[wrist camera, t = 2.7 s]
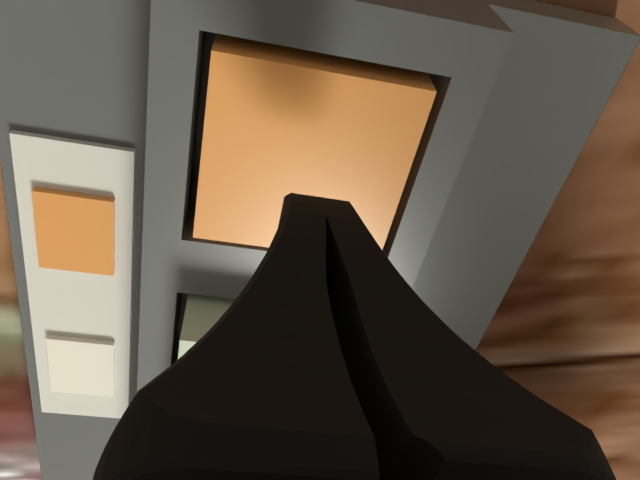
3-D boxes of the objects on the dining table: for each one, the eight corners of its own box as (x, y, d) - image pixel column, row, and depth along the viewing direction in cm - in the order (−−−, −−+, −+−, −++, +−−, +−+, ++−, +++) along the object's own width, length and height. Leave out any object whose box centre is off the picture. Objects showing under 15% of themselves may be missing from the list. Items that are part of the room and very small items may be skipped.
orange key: (369, 219, 18) (378, 262, 16) (201, 195, 17) (192, 237, 15) (420, 58, 15) (436, 91, 13) (219, 20, 14) (211, 50, 13)
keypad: (388, 477, 30) (399, 551, 27) (52, 453, 27) (26, 532, 24) (615, 17, 16) (686, 67, 14) (-8, -116, 14) (-83, -89, 11)
